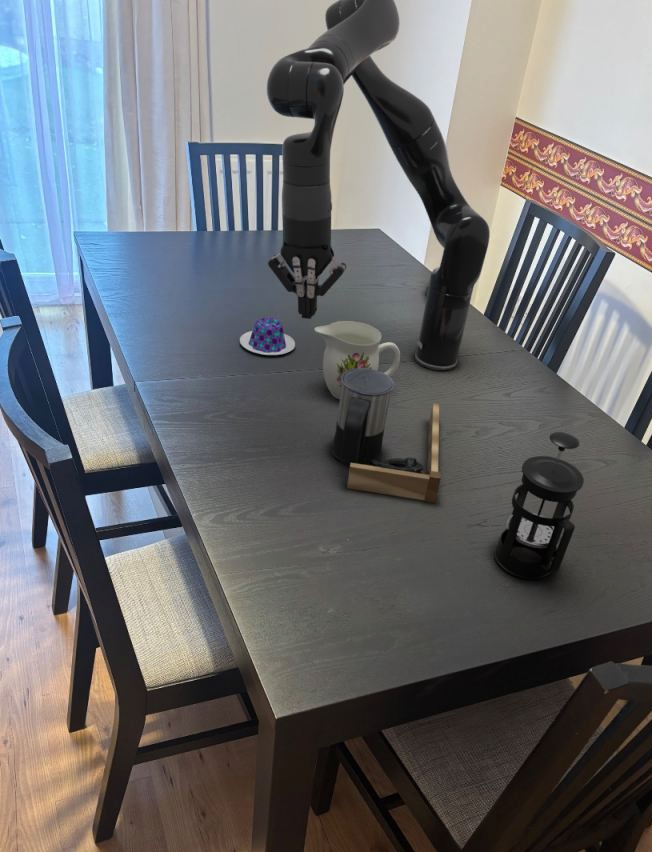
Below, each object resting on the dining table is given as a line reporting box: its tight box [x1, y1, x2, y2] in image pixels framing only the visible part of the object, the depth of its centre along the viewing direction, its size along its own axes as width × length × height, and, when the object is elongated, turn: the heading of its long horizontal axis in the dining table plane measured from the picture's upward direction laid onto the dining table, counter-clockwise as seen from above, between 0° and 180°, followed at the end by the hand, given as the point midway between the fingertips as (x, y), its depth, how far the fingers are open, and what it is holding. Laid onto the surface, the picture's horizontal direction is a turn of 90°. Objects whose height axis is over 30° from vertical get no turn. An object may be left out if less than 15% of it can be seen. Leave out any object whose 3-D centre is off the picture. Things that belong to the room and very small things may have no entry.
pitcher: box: [313, 320, 401, 400], centre depth 155 cm, size 11×18×14 cm, turn 103°
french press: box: [493, 431, 585, 582], centre depth 116 cm, size 12×9×23 cm
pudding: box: [239, 317, 296, 356], centre depth 169 cm, size 12×12×5 cm
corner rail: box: [346, 403, 442, 504], centre depth 141 cm, size 26×15×5 cm, turn 174°
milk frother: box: [330, 368, 424, 473], centre depth 136 cm, size 14×16×15 cm
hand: (307, 316), depth 131 cm, fingers closed
